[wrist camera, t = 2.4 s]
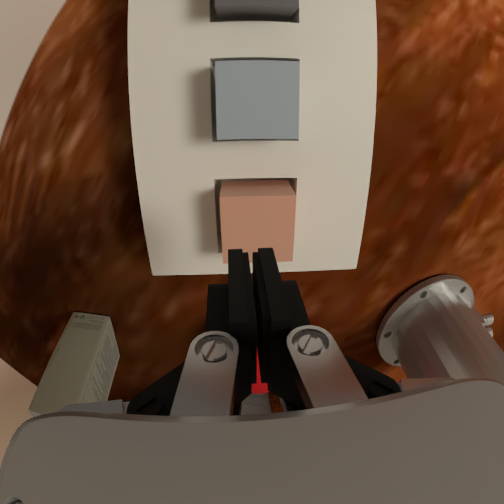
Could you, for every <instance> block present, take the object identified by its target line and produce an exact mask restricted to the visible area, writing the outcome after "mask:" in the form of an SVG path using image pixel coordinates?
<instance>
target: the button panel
mask: <svg viewBox="0 0 504 504" xmlns="http://www.w3.org/2000/svg"><path fill="white" fill-rule="evenodd" d="M230 60H276V61H298V62H300V82H299V138H298V139H228V140H217V125H216V87H215V61H230ZM128 83H129V102H130V117H131V130H132V141H133V151H134V160H135V169H136V177H137V185H138V193H139V200H140V207H141V213H142V220H143V226H144V232H145V238H146V243H147V249H148V254H149V259H150V265H151V270H152V275H197V274H228V263H226V264H223V254H222V237H221V219H220V200H219V196H220V190H221V183H222V181H237V180H288V181H289V183H290V185H291V187H292V189H293V190H294V192H295V194H296V212H295V231H294V247H293V261H289V262H277V265H278V269H279V272H293V271H317V270H340V269H356V267H357V261H358V256H359V250H360V244H361V238H362V232H363V226H364V219H365V212H366V205H367V197H368V189H369V181H370V172H371V163H372V152H373V141H374V127H375V111H376V89H377V22H376V1H375V0H299V8H298V9H297V11H296V12H295V13H294V14H293V16H292V17H291V18H290V19H289V20H278V19H221V20H218V17H217V13H216V9H215V0H128ZM250 271H251V273H253V266H252V263H250Z"/></svg>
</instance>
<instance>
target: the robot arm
mask: <svg viewBox="0 0 504 504" xmlns="http://www.w3.org/2000/svg"><path fill="white" fill-rule="evenodd" d="M252 266H253V287H252V279H251V271H250V263H249V255H248V252H243V251H242V249H228V284H209V285H208V298H207V315H206V332H205V333H202V334H200V335H199V336H197V337H196V338H195V339H194V340H193V341H192V343H191V345H190V347H189V350H188V354H187V357H186V360H185V362H183V363H182V364H180V365H179V366H178V367H176V368H175V369H173V370H172V371H170V372H169V373H168V374H166V375H165V376H163V377H162V378H160V379H159V380H158V381H156V382H155V383H153V384H152V385H150V386H149V387H147V388H146V389H145V390H143V391H142V392H140V393H139V394H137V395H136V396H135V397H134V398H133V399H131V401H129V402H123V401H122V399H120V400H112V401H103V402H93V403H82V404H70V405H66V406H64V407H62V408H61V409H59V411H58V412H53V413H48V414H43V415H39V416H36V417H33V418H31V419H29V420H27V421H25V422H24V423H23V424H22V425H21V426H20V427H19V428H18V429H17V430H16V432H15V433H14V435H13V437H12V439H11V441H10V443H9V445H8V447H7V450H6V452H5V455H4V458H3V461H2V463H1V467H0V504H504V353H503V351H502V350H501V349H500V347H499V346H498V344H497V343H496V342H495V340H494V339H493V338H492V336H493V330H492V328H491V327H490V326H487V325H491V324H492V323H493V321H494V317H493V314H491V313H489V314H484V315H482V316H481V315H480V314H479V313H478V312H477V310H476V309H475V308H474V294H473V291H472V289H471V287H470V286H469V285H468V284H467V283H466V282H465V281H464V280H463V279H462V278H460V277H458V276H456V275H450V274H448V275H439V276H436V277H432V278H429V279H427V280H425V281H423V282H421V283H419V284H417V285H416V286H414V287H413V288H411V289H410V290H408V291H407V292H406V293H405V294H404V295H402V296H401V297H400V298H399V299H398V300H397V301H396V302H395V303H394V304H393V305H392V307H391V308H390V309H389V311H388V312H387V313H386V315H385V316H384V318H383V320H382V322H381V323H380V326H379V329H378V331H377V337H376V345H377V349H378V351H379V353H380V356H381V357H382V359H383V360H384V361H385V362H387V363H388V364H391V365H393V366H400V367H402V368H403V370H404V373H405V375H406V377H407V379H401V380H400V382H396V381H395V380H393V379H392V378H390V377H389V376H387V375H384V374H382V373H380V372H378V371H376V370H374V369H372V368H370V367H368V366H366V365H364V364H362V363H360V362H358V361H356V360H353V359H351V358H349V357H347V356H345V355H343V354H342V352H341V350H340V349H339V347H338V345H337V343H336V342H335V340H334V338H333V337H332V335H331V334H330V333H329V332H328V331H326V330H325V329H323V328H321V327H318V326H312V325H310V323H309V320H308V317H307V313H306V310H305V307H304V304H303V301H302V298H301V295H300V291H299V288H298V285H297V283H296V281H295V280H289V281H282V280H281V277H280V273H279V269H278V265H277V261H276V258H275V254H274V250H273V248H258V252H253V253H252ZM257 352H258V360H259V369H260V377H261V383H267V387H268V391H271V392H272V393H274V394H276V395H277V396H279V397H280V402H281V406H282V409H283V411H284V412H279V413H268V414H254V415H241V411H242V401H244V400H245V399H246V398H247V397H248V396H249V395H250V394H251V393H252V384H256V383H257Z"/></svg>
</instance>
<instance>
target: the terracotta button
mask: <svg viewBox="0 0 504 504" xmlns="http://www.w3.org/2000/svg"><path fill="white" fill-rule="evenodd" d="M219 200H220V219H221V237H222V254H223V264H226V263H228V249H242V251H243V252H248V255H249V263H252V253H253V252H258V248H273V250H274V254H275V258H276V261H277V262H289V261H293V247H294V231H295V212H296V194H295V192H294V190H293V189H292V187H291V185H290V183H289V181H288V180H237V181H222V183H221V190H220V196H219Z"/></svg>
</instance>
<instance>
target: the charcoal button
mask: <svg viewBox="0 0 504 504" xmlns="http://www.w3.org/2000/svg"><path fill="white" fill-rule="evenodd" d="M298 8H299V0H215V9H216V13H217V17H218V20H221V19H278V20H289V19H290V18H291V17H292V16H293V14H294V13H295V12H296V11H297V9H298Z"/></svg>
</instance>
